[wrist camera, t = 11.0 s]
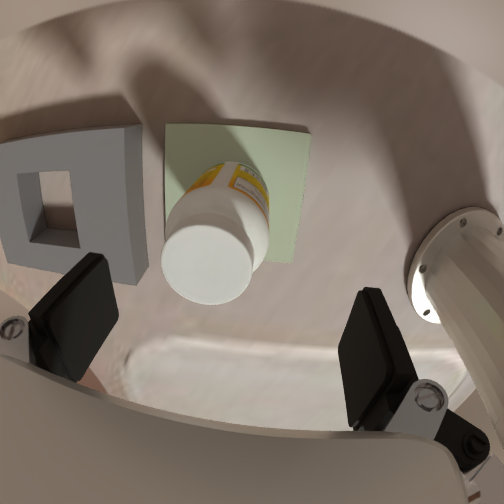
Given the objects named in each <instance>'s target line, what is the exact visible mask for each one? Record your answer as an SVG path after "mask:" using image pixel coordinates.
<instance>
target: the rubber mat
mask: <svg viewBox="0 0 504 504" xmlns="http://www.w3.org/2000/svg"><path fill="white" fill-rule="evenodd" d="M311 136H312V134H310V133H303V132H296V131H288V130H280V129H270V128H260V127H249V126H235V125H218V124H186V123H168V124H166V126H165V214H166V222H167V219H168V216H169V214H170V212H171V210H172V208H173V207H174V205H175V204H176V203H177V202H178V200H179V199H180V198H181V197H182V196H183V195H184V194H185V193H186V191H187V190H188V189H189V188H190V187H191V186H192V185H193V183H194V182H195V181H196V180H197V179H198V178H199V177H200V176H201V175H202V174H203V173H204V172H205V171H206V170H207V169H209V168H210V167H212V166H214V165H216V164H218V163H222V162H229V161H230V162H239V163H243V164H246V165H248V166H250V167H252V168H253V169H254V170H256V171H257V172H258V173H259V174H260V175H261V177H262V178H263V180H264V181H265V183H266V185H267V188H268V192H269V245H268V249H267V252H266V255H265V257H264V259H263V260H264V261H275V262H285V263H292V260H293V254H294V249H295V243H296V237H297V231H298V225H299V219H300V213H301V206H302V200H303V193H304V187H305V180H306V173H307V166H308V159H309V151H310V144H311Z"/></svg>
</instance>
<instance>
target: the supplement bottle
mask: <svg viewBox="0 0 504 504" xmlns="http://www.w3.org/2000/svg"><path fill="white" fill-rule="evenodd" d="M165 239H166V241H165V243H164V246H163V248H162V252H161V268H162V272H163V274H164V276H165V278H166V280H167V282H168V283H169V285H170V286H171V287H172V288H173V289H174V290H175V291H176V292H177V293H178V294H180V295H181V296H183V297H184V298H186V299H188V300H190V301H193V302H196V303H200V304H206V305H216V304H222V303H226V302H228V301H231V300H233V299H235V298H236V297H238V296H239V295H240V294H241V293H242V292H243V291H244V290H245V289H246V287H247V286H248V284H249V282H250V279H251V276H252V272H254V271H255V270H256V269H257V268H258V267H259V265H260V264H261V263H262V261H263V259H264V257H265V255H266V252H267V249H268V245H269V192H268V188H267V185H266V183H265V181H264V180H263V178H262V177H261V175H260V174H259V173H258V172H257V171H256V170H254V169H253V168H252V167H250V166H248V165H246V164H243V163H239V162H230V161H229V162H222V163H218V164H216V165H214V166H212V167H210V168H209V169H207V170H206V171H205V172H204V173H203V174H202V175H201V176H200V177H199V178H198V179H197V180H196V181H195V182H194V183H193V185H192V186H191V187H190V188H189V189H188V190H187V191H186V193H185V194H184V195H183V196H182V197H181V198H180V199H179V200H178V202H177V203H176V204H175V205H174V207H173V208H172V210H171V212H170V214H169V216H168V219H167V222H166V228H165Z"/></svg>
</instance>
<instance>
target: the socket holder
mask: <svg viewBox="0 0 504 504" xmlns="http://www.w3.org/2000/svg"><path fill="white" fill-rule="evenodd" d="M68 170H70V179H71V189H72V198H73V205H74V212H75V219H76V225H77V231H73V230H61V229H50V228H47V225H46V220H45V214H44V209H43V202H42V196H41V189H40V181H39V172H47V171H68ZM0 238H1V241H2V245H3V249H4V252H5V256H6V259H7V262H8V263H11V264H16V265H20V266H25V267H30V268H35V269H40V270H45V271H51V272H56V273H61V274H66V273H67V272H69V271H70V270H71V269H72V268H73V267H74V266H75V265H76V264H77V263H78V262H79V261H80V260H81V259H82V258H83V257H84V256H85V255H86V254H88V253H89V252H94V253H100V254H103V255H104V256H105V258H106V259H107V260H108V263H109V269H110V274H111V280H112V282H115V283H121V284H128V285H135V286H137V284H138V282H139V281H140V279H141V278H142V276H143V274H144V273H145V271H146V270H147V268H148V267H149V263H148V254H147V243H146V231H145V217H144V200H143V174H142V124H130V125H113V126H100V127H89V128H80V129H71V130H63V131H56V132H49V133H43V134H37V135H31V136H26V137H21V138H16V139H11V140H6V141H3V142H0Z"/></svg>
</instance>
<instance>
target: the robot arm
mask: <svg viewBox="0 0 504 504" xmlns="http://www.w3.org/2000/svg"><path fill="white" fill-rule="evenodd" d="M407 290H408V297H409V300H410V302H411V305H412V306H413V308H414V309H415V311H416V313H417V314H418V315H419V316H420V317H421V318H422V319H424V320H426V321H428V322H432V323H441V324H442V325H443V327H444V329H445V330H446V332H447V334H448V335H449V337H450V339H451V341H452V342H453V344H454V346H455V348H456V349H457V351H458V353H459V355H460V357H461V359H462V360H463V362H464V364H465V366H466V368H467V370H468V372H469V374H470V376H471V378H472V380H473V382H474V384H475V386H476V388H477V390H478V392H479V394H480V396H481V399H482V401H483V403H484V405H485V407H486V410H487V412H488V414H489V417H490V419H491V421H492V424H493V426H494V429H495V430H496V433H497V435H498V438H499V441H500V443H501V445H502V447H503V449H504V225H503V224H502V222H501V220H500V219H499V218H498V217H496V216H495V215H494V214H493V213H491V212H490V211H488V210H486V209H483V208H480V207H468V208H464V209H460V210H458V211H456V212H454V213H452V214H450V215H448V216H447V217H446V218H444V219H443V220H442V221H440V222H439V223H438V224H437V225H436V226H435V227H434V228H433V229H432V230H431V231H430V232H429V234H428V235H427V236H426V238H425V239H424V240H423V242H422V243H421V245H420V247H419V249H418V250H417V252H416V254H415V256H414V259H413V261H412V264H411V266H410V271H409V275H408V284H407ZM28 314H29V316H30V318H31V320H30V321H29V322H28V321H27V319H26V318H24V317H22V316H12V317H10V318H7V319H6V320H4V322H2V323H1V324H0V504H504V464H503V463H502V462H501V461H500V460H499V459H498V457H497V456H496V455H495V454H494V453H493V454H492V455H490V454H489V451H490V443H489V440H488V438H487V436H486V435H485V433H483V432H482V431H481V430H480V429H478V428H477V427H475V426H474V425H472V424H470V423H469V422H467V421H466V420H464V419H463V418H461V417H460V416H458V415H457V414H455V413H454V412H452V411H450V410H449V409H447V407H448V396H447V394H446V391H445V390H444V389H443V387H442V386H441V385H439V384H438V383H437V382H435V381H432V380H428V379H421V380H419V379H418V376H417V374H416V371H415V368H414V365H413V363H412V360H411V357H410V355H409V352H408V350H407V347H406V345H405V342H404V340H403V337H402V335H401V332H400V330H399V328H398V326H397V325H396V323H395V321H394V318H393V316H392V314H391V311H390V309H389V307H388V305H387V302H386V300H385V298H384V296H383V293H382V291H381V289H379V288H371V287H364V289H363V290H362V291H358V293H357V296H356V299H355V302H354V305H353V307H352V310H351V313H350V316H349V319H348V321H347V324H346V327H345V329H344V332H343V335H342V337H341V340H340V342H339V346H338V355H339V361H340V368H341V374H342V380H343V387H344V394H345V401H346V409H347V417H348V424H349V426H350V427H353V431H311V430H290V429H276V428H265V427H255V426H247V425H239V424H232V423H225V422H219V421H213V420H207V419H201V418H196V417H191V416H186V415H181V414H177V413H172V412H168V411H164V410H160V409H156V408H152V407H148V406H144V405H141V404H137V403H134V402H130V401H127V400H124V399H120V398H117V397H114V396H111V395H108V394H105V393H101V392H99V391H96V390H93V389H90V388H88V387H85V386H82V385H80V384H77V383H76V382H77V381H80V380H81V379H82V377H83V375H84V374H85V372H86V370H87V368H88V367H89V365H90V364H91V362H92V360H93V359H94V357H95V355H96V354H97V352H98V351H99V349H100V347H101V346H102V344H103V342H104V341H105V339H106V338H107V336H108V335H109V333H110V331H111V330H112V328H113V327H114V325H115V324H116V322H117V320H118V317H119V312H118V308H117V303H116V299H115V294H114V289H113V285H112V280H111V274H110V269H109V263H108V260H107V259H106V258H105V256H104V255H103V254H100V253H94V252H89V253H88V254H86V255H85V256H84V257H83V258H82V259H81V260H80V261H79V262H78V263H77V264H76V265H75V266H74V267H73V268H72V269H71V270H70V271H69V272H67V273H66V274H65V275H64V276H63V277H62V278H61V279H60V280H59V281H58V282H57V283H56V284H55V285H54V286H53V287H52V288H51V289H50V291H49V292H48V293H47V294H46V295H45V296H44V297H43V298H42V299H41V300H40V301H39V302H38V303H37V304H36V305H35V306H34V307H33V308H32V310H31V311H30V312H29V313H28Z"/></svg>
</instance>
